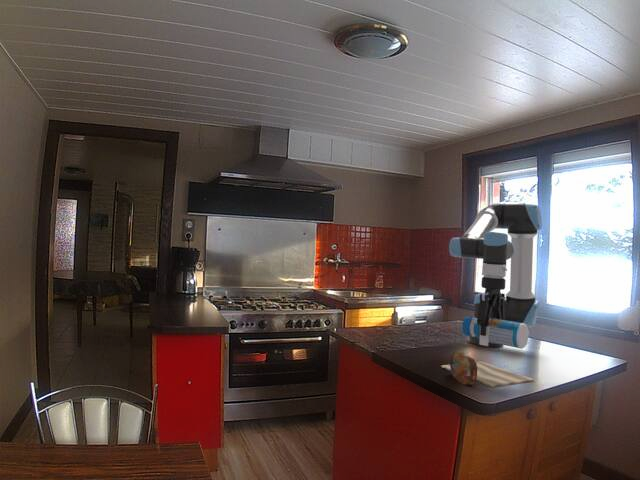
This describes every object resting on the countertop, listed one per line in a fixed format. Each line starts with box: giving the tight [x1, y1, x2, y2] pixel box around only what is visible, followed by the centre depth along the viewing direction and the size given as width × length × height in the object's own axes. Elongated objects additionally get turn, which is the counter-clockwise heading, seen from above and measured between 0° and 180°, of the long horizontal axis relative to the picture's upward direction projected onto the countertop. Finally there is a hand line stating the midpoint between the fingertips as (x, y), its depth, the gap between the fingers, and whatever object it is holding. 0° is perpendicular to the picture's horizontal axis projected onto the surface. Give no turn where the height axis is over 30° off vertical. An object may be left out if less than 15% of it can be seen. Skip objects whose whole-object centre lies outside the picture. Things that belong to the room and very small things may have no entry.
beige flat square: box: [440, 360, 535, 388], centre depth 145 cm, size 20×22×1 cm
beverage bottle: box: [461, 316, 530, 349], centre depth 144 cm, size 8×8×20 cm
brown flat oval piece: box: [449, 351, 477, 386], centre depth 136 cm, size 15×3×8 cm, turn 5°
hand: (489, 343), depth 144 cm, fingers closed on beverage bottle, 8 cm apart
